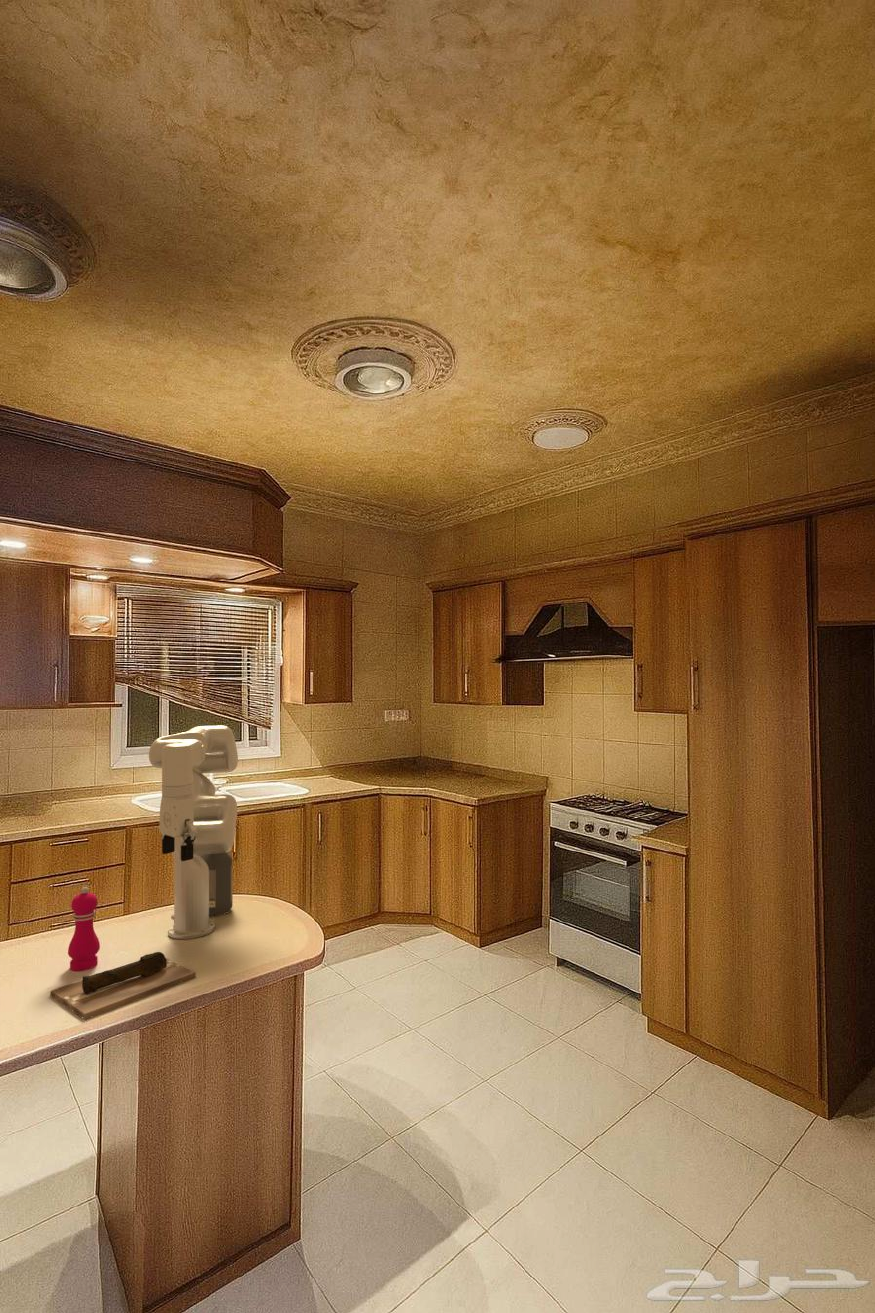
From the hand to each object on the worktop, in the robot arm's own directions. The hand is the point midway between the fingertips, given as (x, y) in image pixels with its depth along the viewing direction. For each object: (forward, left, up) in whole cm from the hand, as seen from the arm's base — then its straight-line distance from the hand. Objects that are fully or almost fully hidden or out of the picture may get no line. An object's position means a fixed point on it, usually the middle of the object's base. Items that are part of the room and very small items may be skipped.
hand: (177, 856), depth 173 cm
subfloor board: (+4, -15, -27) cm, 31 cm away
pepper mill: (-16, -16, -27) cm, 35 cm away
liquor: (-26, +28, -27) cm, 46 cm away
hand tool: (+4, -15, -26) cm, 30 cm away
